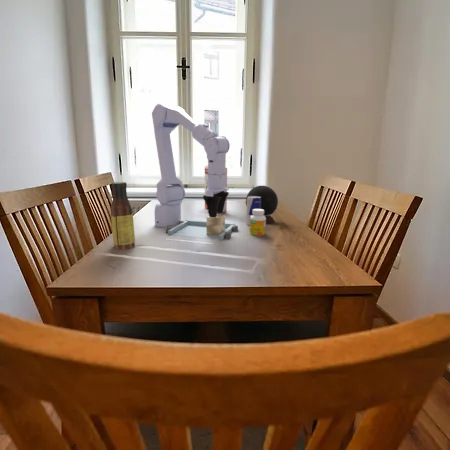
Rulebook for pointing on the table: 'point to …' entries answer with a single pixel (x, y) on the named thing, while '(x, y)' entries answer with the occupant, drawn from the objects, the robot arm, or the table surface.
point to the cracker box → (207, 186)
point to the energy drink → (252, 206)
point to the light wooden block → (215, 225)
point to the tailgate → (190, 241)
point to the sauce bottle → (122, 218)
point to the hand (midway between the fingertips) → (216, 214)
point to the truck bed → (199, 230)
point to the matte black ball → (265, 201)
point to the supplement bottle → (257, 222)
